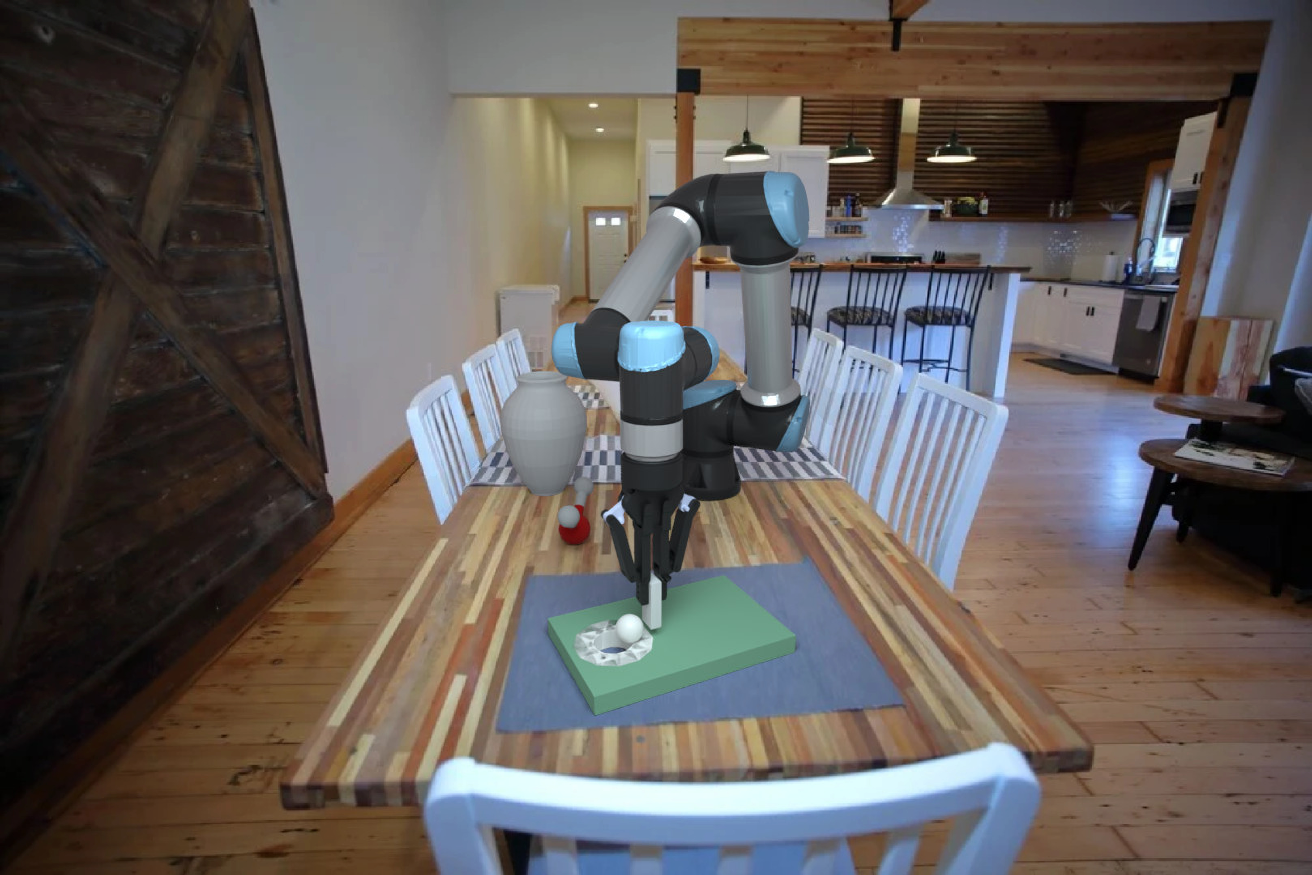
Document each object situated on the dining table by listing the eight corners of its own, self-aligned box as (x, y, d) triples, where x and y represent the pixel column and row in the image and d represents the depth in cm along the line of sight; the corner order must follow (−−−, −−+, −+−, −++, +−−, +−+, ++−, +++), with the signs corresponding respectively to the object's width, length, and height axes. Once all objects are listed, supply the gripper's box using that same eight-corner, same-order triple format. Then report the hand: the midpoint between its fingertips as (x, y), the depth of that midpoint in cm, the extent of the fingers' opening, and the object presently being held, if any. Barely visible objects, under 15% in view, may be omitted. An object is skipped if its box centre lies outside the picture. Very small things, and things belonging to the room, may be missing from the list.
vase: (489, 488, 145) (481, 374, 137) (558, 470, 156) (553, 364, 149) (534, 513, 132) (527, 389, 125) (605, 490, 143) (602, 376, 136)
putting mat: (723, 589, 104) (724, 574, 103) (794, 652, 88) (796, 635, 87) (548, 634, 92) (547, 618, 91) (594, 715, 76) (594, 697, 76)
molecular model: (581, 566, 111) (579, 510, 108) (548, 565, 111) (545, 509, 108) (598, 523, 127) (597, 473, 124) (569, 522, 128) (567, 472, 125)
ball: (629, 603, 87) (606, 620, 86) (642, 617, 84) (618, 635, 83) (639, 621, 89) (617, 638, 88) (652, 636, 86) (629, 653, 85)
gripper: (684, 436, 87) (682, 598, 94) (589, 450, 81) (594, 620, 88) (713, 453, 80) (709, 625, 87) (613, 468, 75) (616, 651, 82)
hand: (651, 622), depth 88 cm, fingers closed
